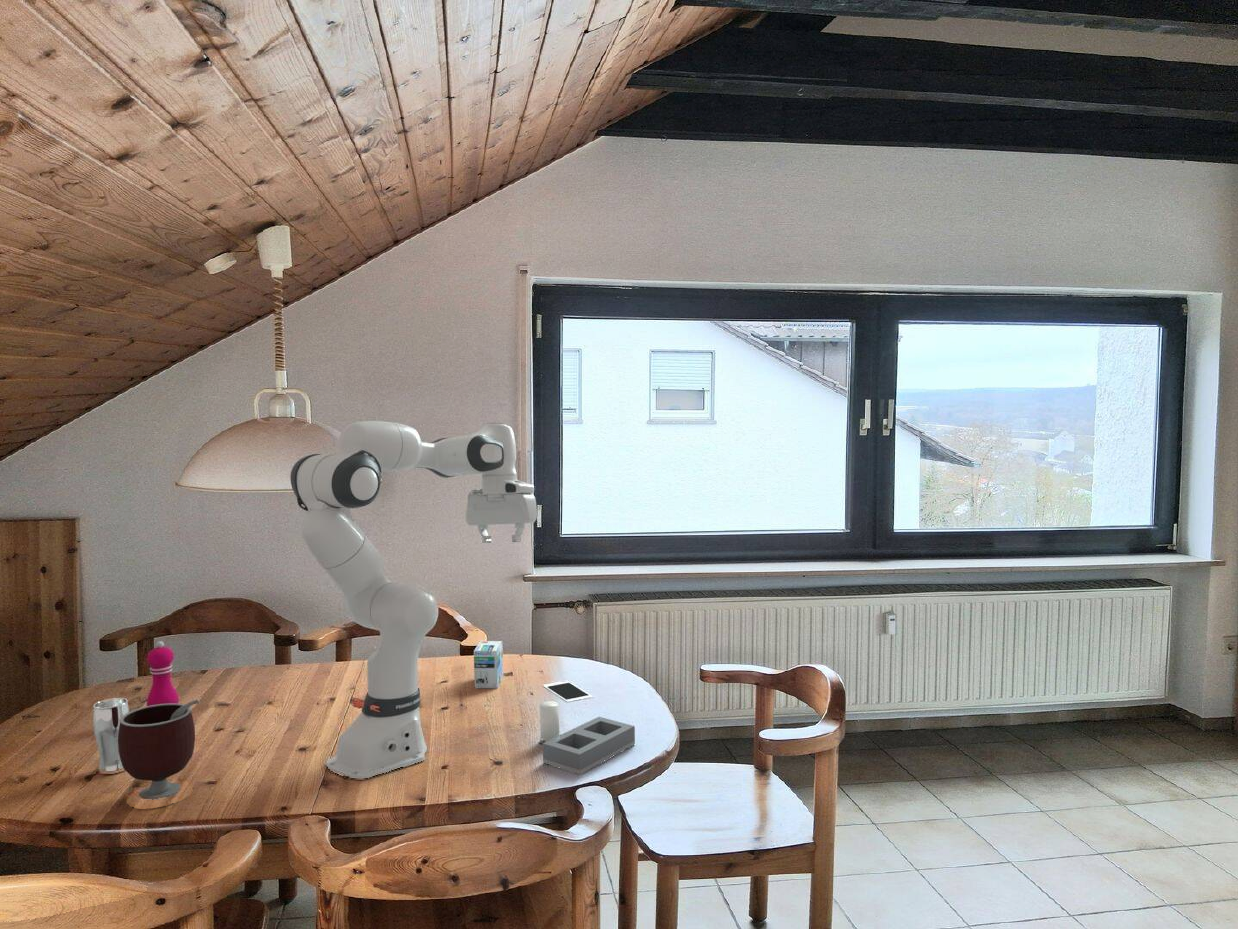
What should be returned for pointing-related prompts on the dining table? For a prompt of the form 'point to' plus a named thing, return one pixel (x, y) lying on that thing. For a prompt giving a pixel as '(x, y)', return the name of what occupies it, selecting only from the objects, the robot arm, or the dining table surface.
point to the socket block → (588, 744)
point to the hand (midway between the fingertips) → (501, 542)
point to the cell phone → (567, 691)
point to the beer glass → (109, 731)
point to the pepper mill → (161, 676)
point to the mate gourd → (157, 745)
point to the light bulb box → (488, 664)
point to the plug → (549, 720)
